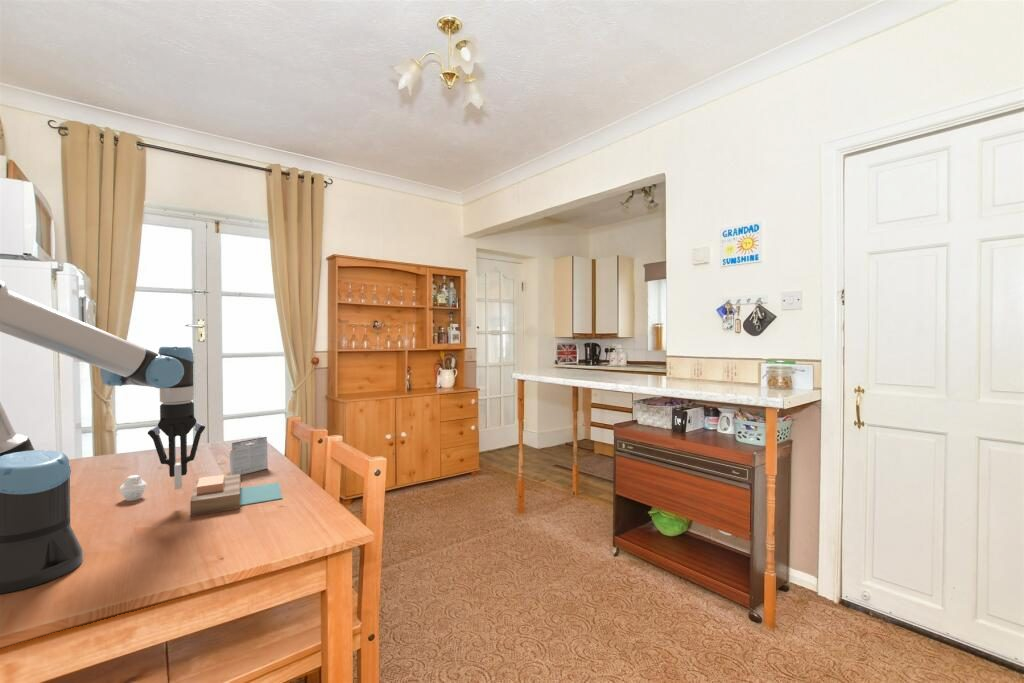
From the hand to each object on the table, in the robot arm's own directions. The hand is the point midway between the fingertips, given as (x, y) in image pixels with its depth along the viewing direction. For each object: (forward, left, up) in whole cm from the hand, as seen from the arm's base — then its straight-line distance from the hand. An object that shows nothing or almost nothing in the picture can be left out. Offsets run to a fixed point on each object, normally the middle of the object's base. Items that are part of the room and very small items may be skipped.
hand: (178, 487), depth 124 cm
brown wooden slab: (0, -9, -5) cm, 10 cm away
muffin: (+14, +12, -6) cm, 19 cm away
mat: (0, -19, -5) cm, 20 cm away
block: (0, -7, -1) cm, 8 cm away
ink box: (+26, -17, -6) cm, 31 cm away
